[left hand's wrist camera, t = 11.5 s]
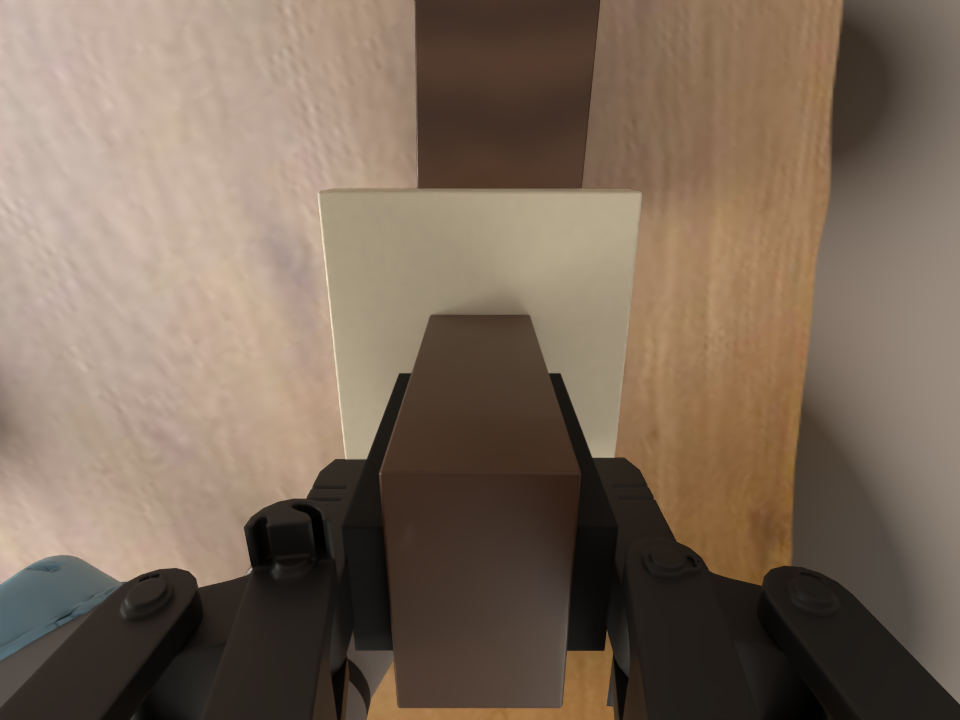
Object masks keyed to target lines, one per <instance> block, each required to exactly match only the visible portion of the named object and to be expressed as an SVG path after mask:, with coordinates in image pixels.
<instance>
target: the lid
mask: <svg viewBox="0 0 960 720" xmlns="http://www.w3.org/2000/svg"><path fill="white" fill-rule="evenodd" d="M318 203H319V213H320V222H321V232H322V241H323V251H324V260H325V270H326V280H327V289H328V299H329V308H330V318H331V327H332V337H333V346H334V356H335V365H336V375H337V385H338V394H339V404H340V413H341V423H342V432H343V442H344V451H345V459H367V457H368V454H369V452H370V449H371V446H372V444H373V441H374V438H375V436H376V433H377V430H378V428H379V425H380V422H381V420H382V417H383V414H384V412H385V409H386V407H387V404H388V401H389V399H390V396H391V393H392V391H393V388H394V385H395V383H396V380H397V377H398V375H399V373H411V376H410V379H409V382H408V385H407V388H406V392H405V395H404V398H403V401H402V404H401V407H400V410H399V413H398V416H397V420H396V423H395V426H394V429H393V432H392V435H391V438H390V441H389V444H388V447H387V451H386V454H385V457H384V460H383V463H382V466H381V469H380V472H379V479H380V492H381V504H382V517H383V529H384V542H385V555H386V567H387V580H388V592H389V605H390V618H391V630H392V643H393V655H394V668H395V681H396V693H397V705H398V707H399V708H561V707H562V705H563V693H564V681H565V668H566V656H567V643H568V631H569V618H570V606H571V593H572V581H573V568H574V556H575V543H576V531H577V518H578V506H579V493H580V481H581V472H580V469H579V466H578V463H577V459H576V456H575V453H574V450H573V447H572V444H571V441H570V438H569V435H568V432H567V429H566V425H565V422H564V419H563V416H562V413H561V410H560V407H559V404H558V401H557V398H556V395H555V391H554V388H553V385H552V382H551V379H550V376H549V373H561V376H562V378H563V381H564V384H565V386H566V389H567V392H568V394H569V397H570V400H571V402H572V405H573V407H574V410H575V413H576V415H577V418H578V421H579V423H580V426H581V429H582V431H583V434H584V437H585V439H586V442H587V445H588V447H589V450H590V453H591V455H592V458H615V450H616V441H617V431H618V422H619V412H620V403H621V393H622V384H623V375H624V365H625V356H626V346H627V337H628V327H629V318H630V308H631V299H632V289H633V280H634V270H635V261H636V251H637V242H638V232H639V223H640V213H641V204H642V192H640V191H637V190H631V189H328V190H323V191H319V192H318Z"/></svg>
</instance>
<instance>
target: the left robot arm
mask: <svg viewBox="0 0 960 720" xmlns="http://www.w3.org/2000/svg"><path fill="white" fill-rule="evenodd" d="M410 376H411V373H399V375H398V377H397V380H396V383H395V385H394V388H393V391H392V393H391V396H390V399H389V401H388V404H387V407H386V409H385V412H384V414H383V417H382V420H381V422H380V425H379V428H378V430H377V433H376V436H375V438H374V441H373V444H372V446H371V449H370V452H369V454H368V457H367V459H335V460H334V461H333V462H332V463H330V464H329V465H328V466H327V467H325V468H324V469H323V470H322V471H320V473H319V475H318V477H317V479H316V481H315V483H314V485H313V488H312V489H311V490H310V492H309V494H308V496H307V498H306V499H290V500H285V501H280V502H277V503H275V504H272V505H270V506H267V507H265V508H263V509H262V510H260V511H259V512H258V513H256V514H255V515H253V516H252V517H251V518H250V520H249V521H248V522H247V524H246V525H245V527H244V531H245V536H246V541H247V546H248V551H249V556H250V561H251V566H250V567H249V569H248V570H247V572H246V574H245V576H243V577H240V578H237V579H233V580H230V581H226V582H222V583H217V584H213V585H209V586H204V587H200V588H198V585H197V581H196V578H195V577H194V576H193V575H192V574H191V573H190V572H189V571H185V570H181V569H177V568H171V569H159V570H155V571H152V572H149V573H146V574H142V575H140V576H138V577H136V578H134V579H132V580H130V581H128V582H119V581H117V580H116V579H114V578H112V577H111V576H109V575H107V574H105V573H104V572H102V571H100V570H99V569H97V568H95V567H93V566H92V565H90V564H88V563H87V562H85V561H83V560H82V559H79V558H77V557H74V556H68V555H59V556H52V557H48V558H45V559H42V560H40V561H37V562H35V563H33V564H31V565H30V566H28V567H26V568H24V569H23V570H21V571H20V572H18V573H17V574H15V575H14V576H12V577H11V578H9V579H8V580H6V581H5V582H3V583H2V584H1V585H0V720H366V719H367V715H368V710H369V706H370V702H371V698H372V696H373V694H374V693H375V691H376V689H377V688H378V686H379V684H380V682H381V681H382V679H383V677H384V675H385V674H386V672H387V670H388V669H389V667H390V665H391V663H392V662H393V660H394V655H393V643H392V630H391V618H390V605H389V592H388V580H387V567H386V555H385V542H384V529H383V517H382V504H381V492H380V479H379V472H380V469H381V466H382V463H383V460H384V457H385V454H386V451H387V447H388V444H389V441H390V438H391V435H392V432H393V429H394V426H395V423H396V420H397V416H398V413H399V410H400V407H401V404H402V401H403V398H404V395H405V392H406V388H407V385H408V382H409V379H410ZM549 376H550V379H551V382H552V385H553V388H554V391H555V395H556V398H557V401H558V404H559V407H560V410H561V413H562V416H563V419H564V422H565V425H566V429H567V432H568V435H569V438H570V441H571V444H572V447H573V450H574V453H575V456H576V459H577V463H578V466H579V469H580V472H581V481H580V493H579V506H578V518H577V531H576V543H575V556H574V568H573V581H572V593H571V606H570V618H569V631H568V643H567V651H604V649H605V641H606V632H607V631H608V635H609V639H610V642H611V646H612V650H613V659H612V668H611V676H610V684H609V692H608V700H607V706H612V707H614V718H615V720H960V704H959V703H958V702H957V701H956V700H955V699H954V698H953V697H952V696H951V695H950V694H949V693H948V692H947V691H946V690H945V689H944V688H943V687H942V686H941V685H940V684H939V683H938V682H937V681H936V680H935V679H934V678H933V677H932V676H931V675H930V674H929V673H928V672H927V670H926V669H925V668H924V667H923V666H922V665H921V664H920V663H919V662H918V661H917V660H916V659H915V658H914V657H913V656H912V655H911V654H910V653H909V652H908V651H907V650H906V649H905V648H904V647H903V646H902V645H901V644H900V643H899V642H898V641H897V640H896V639H895V638H894V637H893V636H892V635H891V633H890V632H889V631H888V630H887V629H886V628H885V627H884V626H883V625H882V624H881V623H880V622H879V621H878V620H877V619H876V618H875V617H874V616H873V615H872V614H871V613H870V612H869V611H868V610H867V609H866V608H865V607H864V606H863V605H862V604H861V603H860V602H859V601H858V600H857V598H856V597H855V596H854V595H853V594H851V593H850V592H849V591H848V590H847V589H845V588H844V587H843V586H842V585H840V584H839V583H838V582H836V581H834V580H832V579H830V578H828V577H827V576H825V575H823V574H821V573H819V572H815V571H812V570H809V569H805V568H802V567H792V566H782V567H778V568H774V569H771V570H770V571H769V572H768V573H767V574H766V575H765V576H764V579H763V583H762V586H760V585H756V584H752V583H747V582H743V581H739V580H734V579H730V578H727V577H723V576H720V575H717V574H714V573H712V572H710V571H709V570H708V568H707V566H706V564H705V563H704V561H703V560H702V558H701V557H700V556H699V555H698V554H696V553H695V552H694V551H693V550H692V549H690V548H689V547H687V546H685V545H683V544H680V543H678V542H677V541H676V539H675V538H674V536H673V534H672V532H671V530H670V528H669V526H668V524H667V522H666V520H665V518H664V516H663V514H662V512H661V510H660V508H659V506H658V505H657V503H656V501H655V500H654V498H653V495H652V493H651V491H650V489H649V488H648V487H647V483H646V481H645V479H644V477H643V475H642V473H641V472H640V470H639V469H638V468H637V467H635V466H634V465H633V464H632V463H630V462H629V461H628V460H627V459H625V458H592V455H591V453H590V450H589V447H588V445H587V442H586V439H585V437H584V434H583V431H582V429H581V426H580V423H579V421H578V418H577V415H576V413H575V410H574V407H573V405H572V402H571V400H570V397H569V394H568V392H567V389H566V386H565V384H564V381H563V378H562V376H561V373H549Z"/></svg>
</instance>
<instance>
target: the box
mask: <svg viewBox="0 0 960 720" xmlns="http://www.w3.org/2000/svg"><path fill="white" fill-rule="evenodd" d="M599 8H600V0H415V53H416V133H417V189H582V180H583V170H584V160H585V150H586V140H587V129H588V119H589V109H590V99H591V89H592V79H593V69H594V59H595V49H596V38H597V28H598V18H599Z"/></svg>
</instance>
